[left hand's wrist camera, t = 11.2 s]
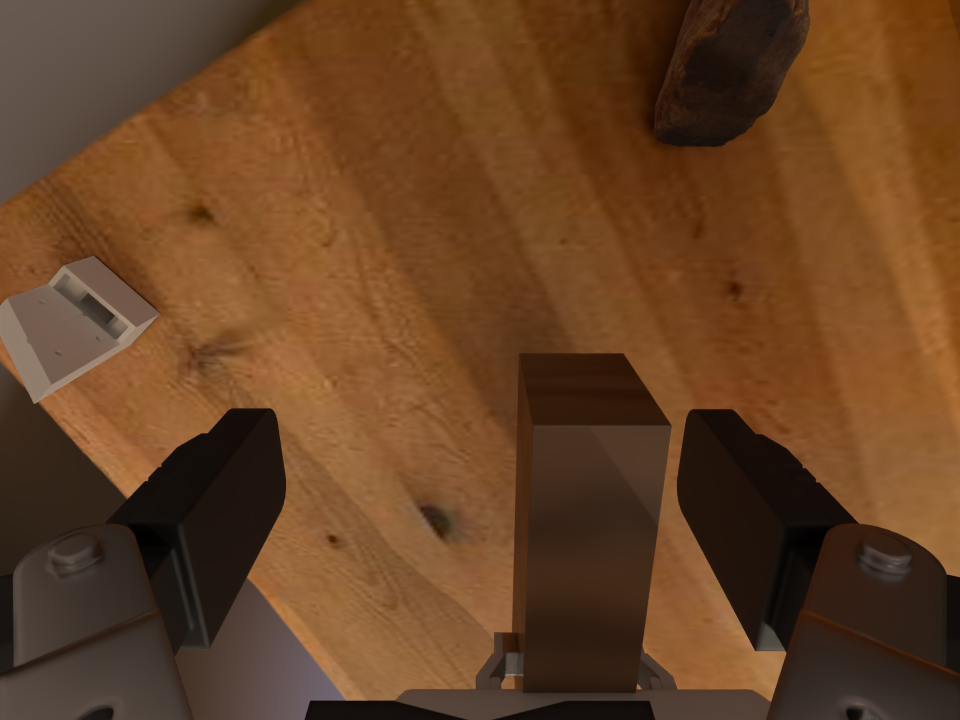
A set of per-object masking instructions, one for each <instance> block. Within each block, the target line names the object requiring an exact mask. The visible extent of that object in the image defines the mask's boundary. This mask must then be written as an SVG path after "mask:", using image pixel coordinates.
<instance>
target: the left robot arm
mask: <svg viewBox="0 0 960 720" xmlns="http://www.w3.org/2000/svg"><path fill="white" fill-rule="evenodd" d="M285 494H286V476H285V469H284V463H283V456H282V449H281V442H280V435H279V429H278V422H277V417H276V414H275V412H274V411H273V410H272V409H270V408H233V409H230V410H228V411H227V413H226V414H225V415H224V416H223V417H222V418H221V419H220V420H219V421H218V423H217V424H216V425H215V426H214V427H213V428H212V429H211V430H210V431H209V433H201V434H200V435H198V436H196V437H194V438H193V439H191V440H189V441H188V442H186V443H184V444H182V445H181V446H179V447H177V448H176V449H175V450H174V451H173V452H172V453H171V454H170V455H169V457H168V458H167V459H166V460H165V461H164V462H163V463H162V466H161V467H158V468H157V469H156V470H155V471H154V472H153V473H152V474H151V475H150V476H149V478H148V481H145V482H144V483H143V484H142V485H141V486H140V487H139V488H138V489H137V490H136V491H135V492H134V493H133V494H132V495H131V496H130V497H129V498H128V500H127V501H126V502H125V503H124V504H123V505H122V506H121V507H120V508H119V509H118V510H117V511H116V512H115V513H114V514H113V515H112V516H111V517H110V518H109V519H108V520H107V522H106V523H105V524H95V525H89V526H84V527H80V528H77V529H74V530H70V531H68V532H65V533H62V534H60V535H58V536H56V537H54V538H52V539H50V540H48V541H46V542H44V543H43V544H41V545H39V546H38V547H36V548H35V549H34V550H32V551H31V552H30V553H29V554H28V555H26V556H25V557H24V558H23V559H22V560H21V562H20V563H19V564H18V566H17V567H16V569H15V571H14V574H10V575H5V576H0V720H194V717H193V714H192V711H191V708H190V705H189V701H188V698H187V695H186V692H185V689H184V685H183V682H182V679H181V676H180V673H179V670H178V666H177V663H176V660H175V656H176V654H177V652H178V650H179V649H209V648H210V646H211V644H212V642H213V641H214V639H215V637H216V635H217V633H218V631H219V629H220V627H221V625H222V623H223V621H224V620H225V618H226V616H227V614H228V612H229V610H230V608H231V606H232V604H233V602H234V600H235V598H236V596H237V595H238V593H239V591H240V589H241V587H242V585H243V583H244V581H245V579H246V577H247V575H248V574H249V572H250V570H251V568H252V566H253V564H254V562H255V560H256V558H257V556H258V554H259V553H260V551H261V549H262V547H263V545H264V543H265V541H266V539H267V537H268V535H269V533H270V531H271V530H272V528H273V526H274V524H275V522H276V520H277V518H278V516H279V514H280V512H281V510H282V508H283V504H284V500H285ZM677 495H678V501H679V505H680V509H681V511H682V513H683V515H684V517H685V519H686V521H687V523H688V525H689V527H690V528H691V530H692V532H693V534H694V536H695V538H696V540H697V542H698V544H699V545H700V547H701V549H702V551H703V553H704V555H705V557H706V559H707V561H708V563H709V564H710V566H711V568H712V570H713V572H714V574H715V576H716V578H717V580H718V581H719V583H720V585H721V587H722V589H723V591H724V593H725V595H726V597H727V598H728V600H729V602H730V604H731V606H732V608H733V610H734V612H735V614H736V616H737V617H738V619H739V621H740V623H741V625H742V627H743V629H744V631H745V633H746V634H747V636H748V638H749V640H750V642H751V644H752V646H753V648H754V650H755V651H786V653H787V654H786V657H785V660H784V663H783V666H782V670H781V673H780V676H779V679H778V682H777V685H776V689H775V692H774V695H773V698H772V701H771V705H770V708H769V711H768V714H767V717H766V720H960V577H956V576H951V575H947V574H946V571H945V569H944V567H943V566H942V564H941V563H940V562H939V560H938V559H937V558H936V557H935V556H934V555H933V554H931V553H930V552H929V551H928V550H926V549H925V548H924V547H922V546H921V545H919V544H917V543H916V542H914V541H912V540H910V539H908V538H907V537H904V536H902V535H900V534H898V533H895V532H892V531H890V530H887V529H883V528H880V527H876V526H871V525H865V524H859V523H858V522H857V521H856V520H855V519H854V518H853V517H852V516H851V515H850V514H849V513H848V512H847V511H846V510H845V509H844V508H843V507H842V506H841V505H840V503H839V502H838V501H837V500H836V499H835V498H834V497H833V496H832V495H831V494H830V493H829V492H828V491H827V490H826V489H825V488H824V487H823V486H822V485H821V484H820V483H816V479H815V477H814V476H813V475H812V474H811V473H810V472H809V471H808V470H807V469H806V468H803V467H802V464H801V463H800V462H799V461H798V460H797V459H796V458H795V457H794V456H793V455H792V454H791V453H790V452H789V450H788V449H787V448H785V447H783V446H781V445H780V444H778V443H776V442H774V441H773V440H771V439H769V438H767V437H766V436H764V435H762V434H755V433H754V432H753V431H752V429H751V428H750V427H749V426H748V425H747V424H746V423H745V422H744V421H743V420H742V418H741V417H740V416H739V415H738V414H737V413H736V412H735V411H734V410H732V409H693V410H691V411H690V412H689V413H688V416H687V419H686V423H685V430H684V437H683V443H682V450H681V457H680V464H679V470H678V477H677ZM305 720H467V719H463V718H459V717H455V716H452V715H448V714H444V713H440V712H436V711H432V710H428V709H424V708H420V707H416V706H413V705H409V704H405V703H401V702H397V701H310V703H309V707H308V710H307V713H306V717H305ZM493 720H655V717H654V713H653V710H652V707H651V703H650V701H563V702H559V703H555V704H551V705H547V706H544V707H540V708H536V709H532V710H528V711H524V712H520V713H516V714H512V715H508V716H505V717H501V718H497V719H493Z"/></svg>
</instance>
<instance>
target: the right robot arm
mask: <svg viewBox="0 0 960 720" xmlns="http://www.w3.org/2000/svg"><path fill="white" fill-rule="evenodd" d="M508 675H518V642H517V633H508V632H494V653H493V654H492V655H491V656H490V658H489V659H488V660H487V662H486V663H485V665H484V666H483V667H482V669H481V670H480V672H479V673H478V674H477V676H476V689H411V690H406V691H404V692H403V693H402V694H401V695H400V696H399V697H398V698H397V699H396V700H395V701H397V702H401V703H405V704H409V705H413V706H416V707H420V708H424V709H428V710H432V711H436V712H440V713H444V714H448V715H452V716H455V717H459V718H463V719H467V720H493V719H497V718H501V717H505V716H508V715H512V714H516V713H520V712H524V711H528V710H532V709H536V708H540V707H544V706H547V705H551V704H555V703H559V702H563V701H650V703H651V707H652V710H653V713H654V717H655V720H766V717H767V714H768V711H769V708H770V705H771V702H770V701H768V700H767V699H766V698H764V697H763V696H761V695H760V694H759V693H757V692H755V691H753V690H748V689H738V690H678V689H677V687H676V684H675V681H674V678H673V676H672V675H670V674H669V673H668V672H667V671H666V670H665V669H664V668H663V667H662V666H660V665H659V664H658V663H657V662H656V661H655V660H654V659H653V658H652V657H650V656H649V655H648V654H647V653H645V652H644V649H643V646H642V651H641V658H640V666H639V673H638V681H637V684H638V685H639V686H640V687H641V688H642V689H643V690H636V693H523V691H522V689H501V683H502V681H503V680H504V678H505V676H508Z"/></svg>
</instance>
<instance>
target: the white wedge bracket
mask: <svg viewBox="0 0 960 720" xmlns="http://www.w3.org/2000/svg"><path fill="white" fill-rule="evenodd" d="M159 314H160V313H159V312H158V311H156V310H155V309H154V308H153V307H152V306H151V305H150V304H148V303H147V302H146V301H145V300H144V299H143V298H142V297H140V296H139V295H138V294H137V293H136V292H135V291H133V290H132V289H131V288H130V287H129V286H128V285H127V284H125V283H124V282H123V281H122V280H121V279H120V278H119V277H117V276H116V275H115V274H114V273H113V272H112V271H110V270H109V269H108V268H107V267H106V266H105V265H104V264H102V263H101V262H100V261H99V260H98V259H97V258H96V257H94V256H91V257H88V258H85V259H82V260H79V261H76V262H73V263H70V264H66V265H63V267H62V268H61V269H60V270H59V271H58V272H57V274H56V275H55V276H54V277H53V278H52V279H51V281H50V282H49V283H48V284H45V285H42V286H40V287H37V288H34V289H31V290H28V291H26V292H23V293H20V294H17V295H14V296H11V297H9V298H6V300H5V301H4V302H3V303H2V304H1V306H0V337H1V339H2V341H3V343H4V345H5V347H6V349H7V351H8V353H9V355H10V357H11V359H12V361H13V363H14V365H15V367H16V369H17V371H18V373H19V375H20V377H21V379H22V381H23V383H24V385H25V387H26V389H27V391H28V393H29V395H30V397H31V399H32V401H33V403H34V404H35V403H36V402H38V401H40V400H41V399H43V398H45V397H46V396H48V395H49V394H51V393H53V392H54V391H56V390H58V389H59V388H61V387H63V386H64V385H66V384H67V383H69V382H71V381H72V380H74V379H76V378H77V377H79V376H80V375H82V374H84V373H85V372H87V371H89V370H90V369H92V368H94V367H95V366H97V365H98V364H100V363H102V362H103V361H105V360H107V359H108V358H110V357H111V356H113V355H115V354H116V353H118V352H120V351H121V350H123V349H125V348H126V347H128V346H129V345H131V344H132V343H133V342H134V341H135V340H136V339H137V338H138V336H139V335H140V334H141V333H142V332H143V331H144V330H145V329H146V328H147V327H148V326H149V325H150V324H151V323H152V322H153V321H154V320H155V319H156V318H157V316H158V315H159Z"/></svg>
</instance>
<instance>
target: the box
mask: <svg viewBox="0 0 960 720" xmlns="http://www.w3.org/2000/svg"><path fill="white" fill-rule="evenodd" d="M670 433H671V424H670V422H669V421H668V419H667V418H666V416H665V415H664V413H663V412H662V410H661V409H660V408H659V406H658V405H657V403H656V402H655V400H654V399H653V397H652V396H651V394H650V393H649V391H648V390H647V388H646V387H645V385H644V384H643V382H642V381H641V379H640V378H639V376H638V375H637V373H636V372H635V370H634V369H633V367H632V366H631V364H630V363H629V361H628V360H627V358H626V357H625V355H624V354H623V353H598V354H519V381H518V419H517V458H516V497H515V536H514V574H513V613H512V633H517V642H518V675H514V679H515V689H522V691H523V693H636V688H637V681H638V673H639V666H640V658H641V651H642V643H643V636H644V628H645V621H646V613H647V606H648V598H649V591H650V583H651V576H652V568H653V561H654V553H655V546H656V538H657V531H658V523H659V516H660V508H661V501H662V493H663V486H664V478H665V471H666V463H667V456H668V448H669V441H670Z"/></svg>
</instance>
